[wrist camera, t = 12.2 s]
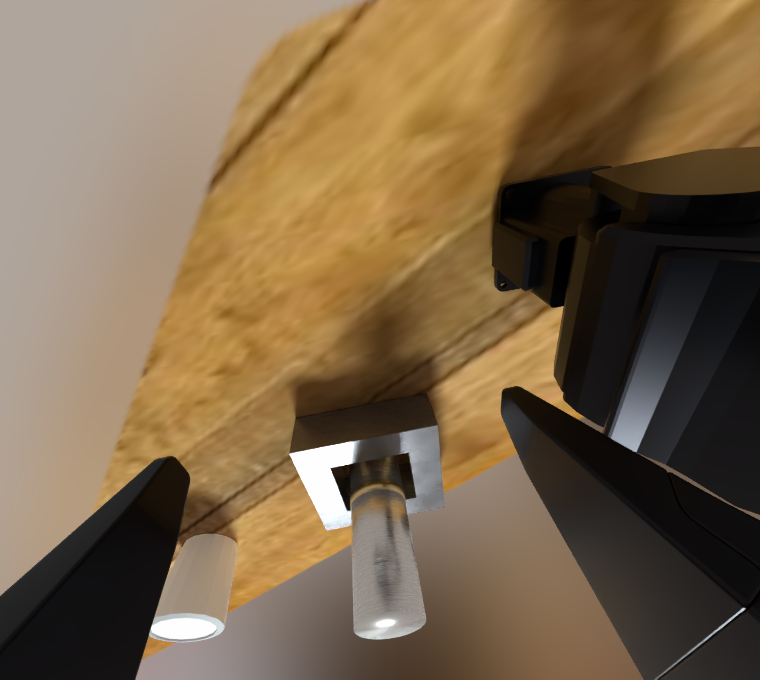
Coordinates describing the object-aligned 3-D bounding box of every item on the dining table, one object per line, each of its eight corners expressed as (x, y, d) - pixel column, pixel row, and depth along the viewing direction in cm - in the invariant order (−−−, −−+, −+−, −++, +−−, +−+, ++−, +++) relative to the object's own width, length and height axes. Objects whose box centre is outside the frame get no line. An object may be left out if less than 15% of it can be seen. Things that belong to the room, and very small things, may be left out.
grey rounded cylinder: (380, 424, 27) (404, 602, 16) (404, 450, 29) (439, 623, 18) (339, 446, 28) (337, 628, 17) (366, 469, 30) (378, 644, 19)
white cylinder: (165, 552, 34) (127, 637, 28) (197, 523, 32) (164, 609, 26) (223, 567, 37) (200, 648, 31) (256, 542, 35) (238, 623, 29)
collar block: (426, 393, 26) (437, 425, 23) (434, 473, 31) (444, 507, 28) (295, 418, 26) (289, 453, 23) (328, 494, 31) (326, 530, 28)
